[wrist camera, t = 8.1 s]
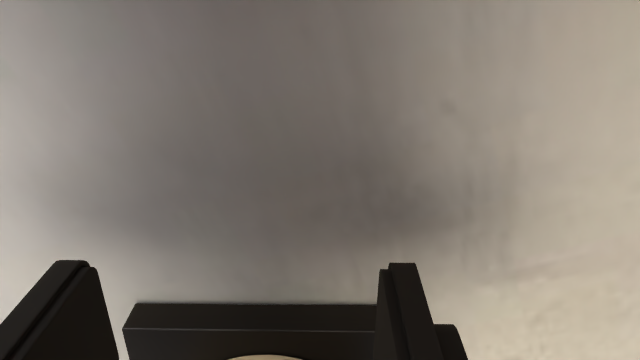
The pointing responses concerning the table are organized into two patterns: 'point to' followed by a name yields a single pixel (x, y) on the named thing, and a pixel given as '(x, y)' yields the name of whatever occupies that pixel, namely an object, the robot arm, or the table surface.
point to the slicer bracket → (250, 331)
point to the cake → (265, 357)
